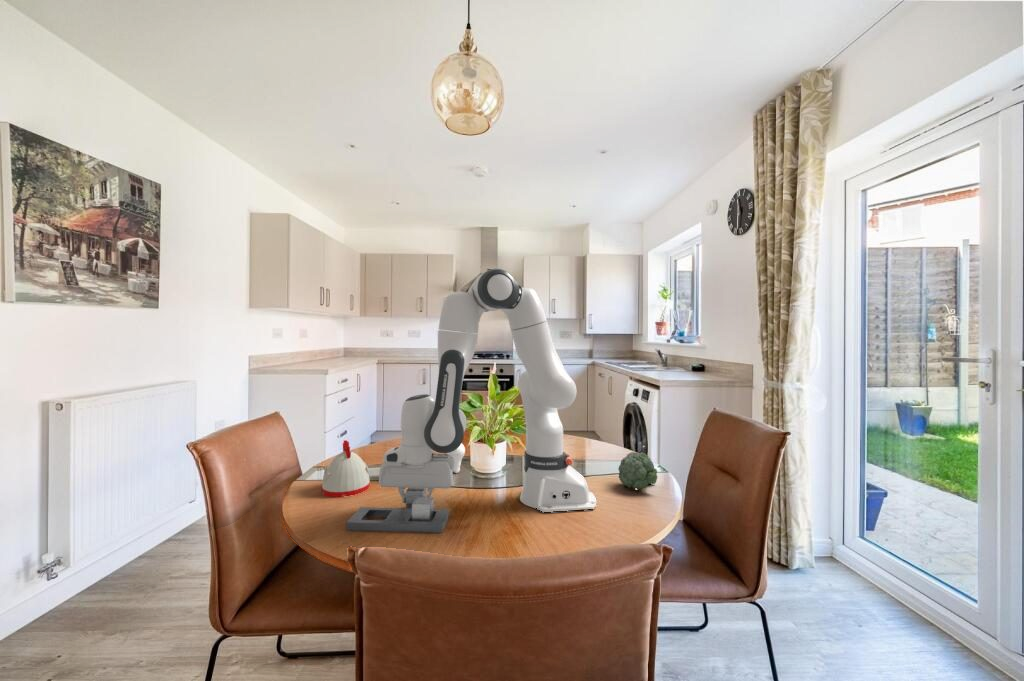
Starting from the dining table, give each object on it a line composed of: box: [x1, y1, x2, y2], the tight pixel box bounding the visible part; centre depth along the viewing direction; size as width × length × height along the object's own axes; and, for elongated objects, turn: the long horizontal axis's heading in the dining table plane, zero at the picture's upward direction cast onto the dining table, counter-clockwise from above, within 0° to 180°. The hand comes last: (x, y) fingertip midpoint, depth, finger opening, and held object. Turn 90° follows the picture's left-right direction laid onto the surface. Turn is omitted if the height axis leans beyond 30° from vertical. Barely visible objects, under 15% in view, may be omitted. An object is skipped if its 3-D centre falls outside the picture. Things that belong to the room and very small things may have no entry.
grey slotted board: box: [345, 506, 450, 534], centre depth 103 cm, size 24×9×2 cm, turn 88°
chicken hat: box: [321, 439, 371, 498], centre depth 127 cm, size 14×14×15 cm
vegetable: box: [618, 451, 658, 491], centre depth 131 cm, size 12×13×15 cm
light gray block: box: [412, 497, 435, 522], centre depth 103 cm, size 4×4×6 cm
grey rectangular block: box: [405, 488, 427, 508], centre depth 112 cm, size 4×4×6 cm
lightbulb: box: [447, 442, 466, 474], centre depth 143 cm, size 6×6×11 cm
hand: (416, 502), depth 112 cm, fingers closed on grey rectangular block, 4 cm apart
